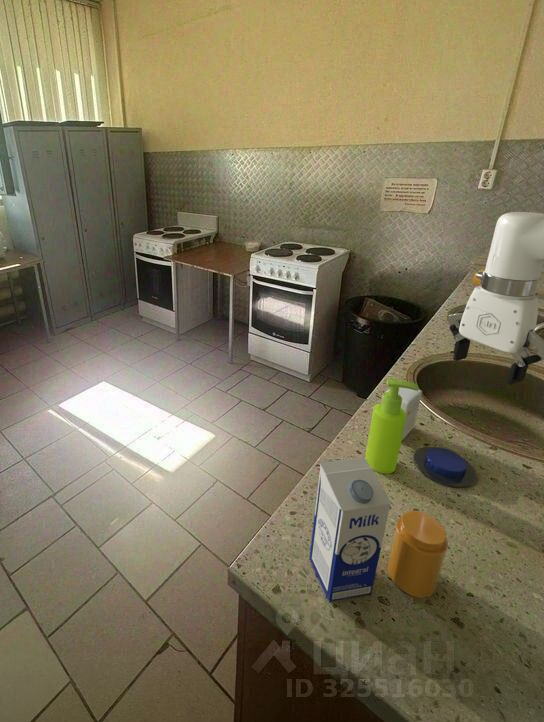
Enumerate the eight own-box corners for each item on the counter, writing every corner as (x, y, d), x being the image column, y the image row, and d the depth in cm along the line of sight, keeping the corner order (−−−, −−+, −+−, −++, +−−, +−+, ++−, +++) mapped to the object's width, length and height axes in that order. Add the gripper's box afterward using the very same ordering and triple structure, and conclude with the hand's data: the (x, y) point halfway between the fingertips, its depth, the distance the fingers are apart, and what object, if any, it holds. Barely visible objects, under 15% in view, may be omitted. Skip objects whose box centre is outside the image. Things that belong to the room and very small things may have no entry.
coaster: (457, 450, 86) (458, 447, 86) (488, 490, 76) (489, 487, 76) (404, 447, 87) (405, 445, 87) (427, 486, 77) (428, 484, 77)
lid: (434, 477, 78) (436, 470, 78) (419, 452, 85) (420, 446, 84) (472, 479, 78) (474, 472, 77) (453, 454, 84) (455, 447, 83)
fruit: (475, 282, 190) (479, 266, 187) (495, 286, 184) (500, 270, 181) (469, 287, 185) (473, 270, 182) (489, 290, 179) (494, 274, 176)
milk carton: (348, 551, 65) (365, 455, 58) (372, 593, 59) (394, 491, 52) (308, 558, 64) (319, 461, 57) (328, 601, 58) (343, 499, 51)
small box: (390, 417, 97) (397, 380, 93) (414, 428, 93) (423, 390, 89) (375, 431, 92) (381, 393, 89) (399, 443, 88) (408, 404, 85)
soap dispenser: (403, 477, 79) (421, 393, 72) (366, 470, 81) (380, 387, 74) (398, 457, 84) (415, 376, 77) (363, 450, 87) (377, 371, 79)
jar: (423, 557, 64) (436, 509, 60) (444, 600, 58) (459, 549, 54) (381, 553, 65) (391, 506, 61) (396, 595, 58) (408, 545, 55)
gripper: (445, 275, 75) (428, 355, 81) (556, 303, 60) (525, 398, 66) (471, 270, 78) (453, 347, 84) (582, 295, 63) (550, 387, 69)
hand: (485, 370), depth 75 cm, fingers open, 9 cm apart
